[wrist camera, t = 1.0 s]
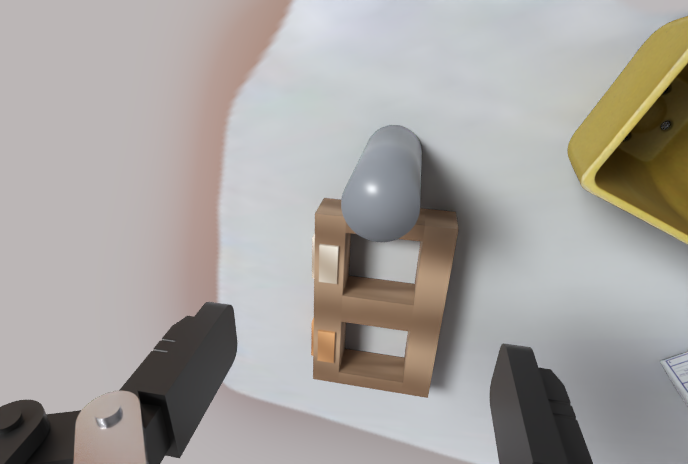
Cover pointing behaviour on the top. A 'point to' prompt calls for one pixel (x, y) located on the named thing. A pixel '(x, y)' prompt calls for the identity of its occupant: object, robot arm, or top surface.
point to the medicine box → (678, 373)
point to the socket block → (379, 304)
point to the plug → (385, 186)
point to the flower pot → (642, 135)
